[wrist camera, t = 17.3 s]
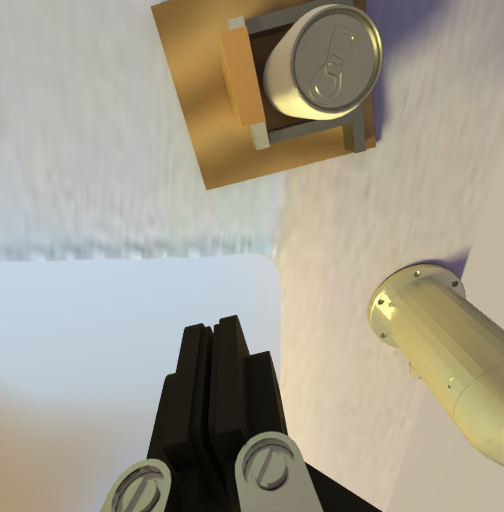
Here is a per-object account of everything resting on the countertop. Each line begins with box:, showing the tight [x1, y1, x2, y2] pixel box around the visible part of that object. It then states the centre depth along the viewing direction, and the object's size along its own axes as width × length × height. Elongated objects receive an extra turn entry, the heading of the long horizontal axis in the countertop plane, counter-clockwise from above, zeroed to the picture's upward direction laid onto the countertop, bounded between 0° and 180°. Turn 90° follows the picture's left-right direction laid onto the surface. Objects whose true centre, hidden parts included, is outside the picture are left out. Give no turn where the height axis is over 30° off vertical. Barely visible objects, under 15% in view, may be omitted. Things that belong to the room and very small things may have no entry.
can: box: [263, 4, 383, 120], centre depth 25 cm, size 6×6×12 cm
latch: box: [220, 16, 270, 150], centre depth 23 cm, size 10×2×16 cm, turn 13°
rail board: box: [151, 0, 376, 190], centre depth 31 cm, size 16×18×1 cm
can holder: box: [245, 0, 366, 153], centre depth 29 cm, size 15×9×3 cm, turn 13°
